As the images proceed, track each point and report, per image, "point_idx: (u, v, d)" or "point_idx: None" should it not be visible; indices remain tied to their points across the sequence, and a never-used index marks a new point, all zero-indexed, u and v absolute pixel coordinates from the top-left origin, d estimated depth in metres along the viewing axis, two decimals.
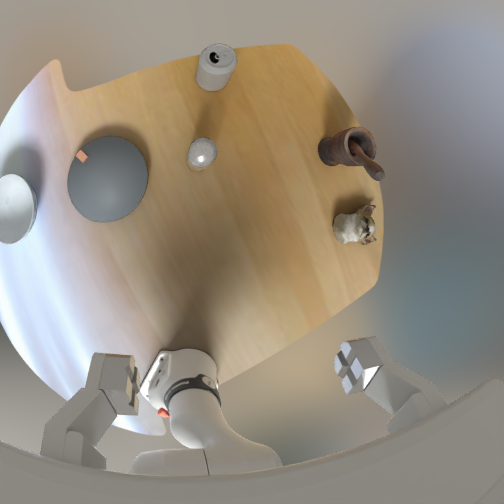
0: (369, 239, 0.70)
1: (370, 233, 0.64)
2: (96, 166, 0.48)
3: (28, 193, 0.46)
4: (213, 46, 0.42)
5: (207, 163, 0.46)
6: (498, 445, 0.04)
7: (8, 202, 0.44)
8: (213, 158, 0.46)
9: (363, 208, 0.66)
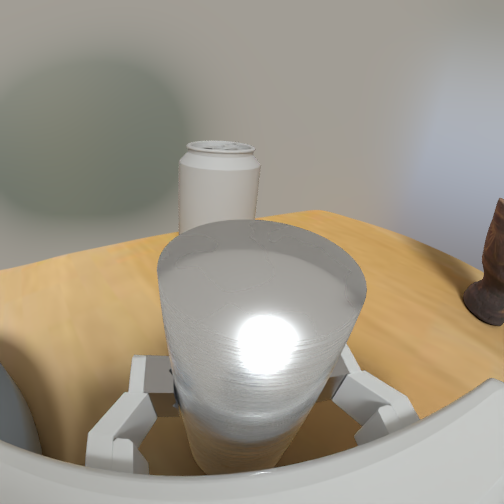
0: None
1: None
2: None
3: None
4: (204, 143, 0.25)
5: (336, 318, 0.05)
6: (498, 445, 0.04)
7: None
8: (354, 284, 0.06)
9: None
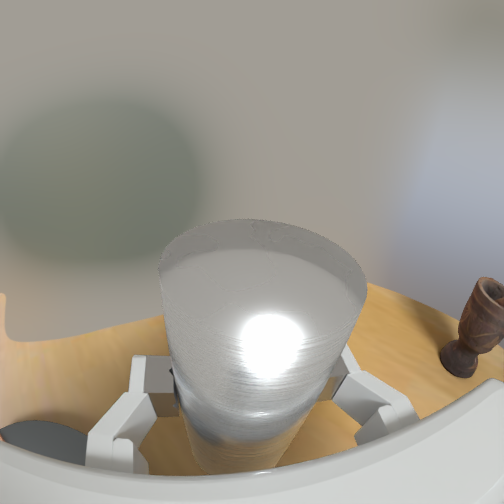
0: None
1: None
2: None
3: None
4: None
5: (337, 317, 0.05)
6: (498, 445, 0.04)
7: None
8: (355, 284, 0.06)
9: None
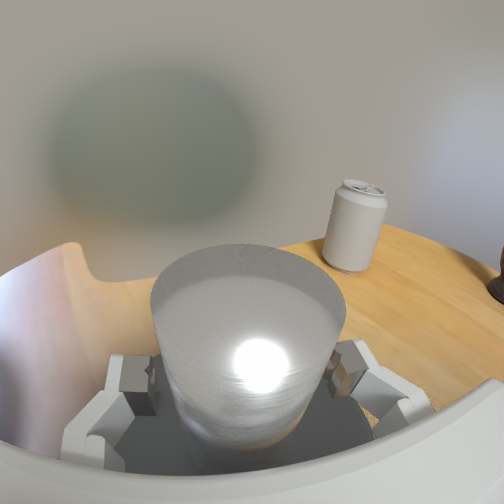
0: None
1: None
2: None
3: None
4: (347, 181, 0.36)
5: (312, 347, 0.06)
6: (498, 445, 0.04)
7: None
8: (334, 312, 0.07)
9: None
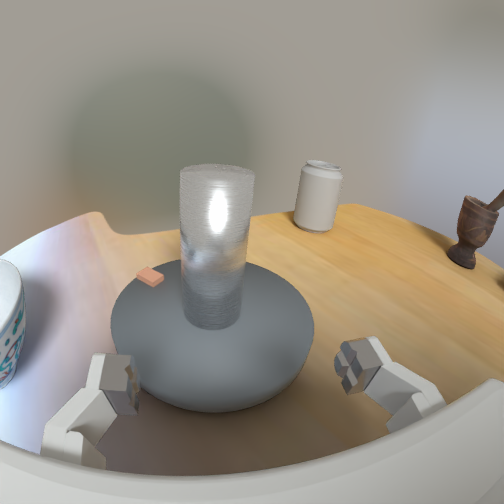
0: None
1: None
2: None
3: None
4: (311, 161, 0.47)
5: (236, 180, 0.16)
6: (498, 445, 0.04)
7: None
8: (248, 176, 0.17)
9: None
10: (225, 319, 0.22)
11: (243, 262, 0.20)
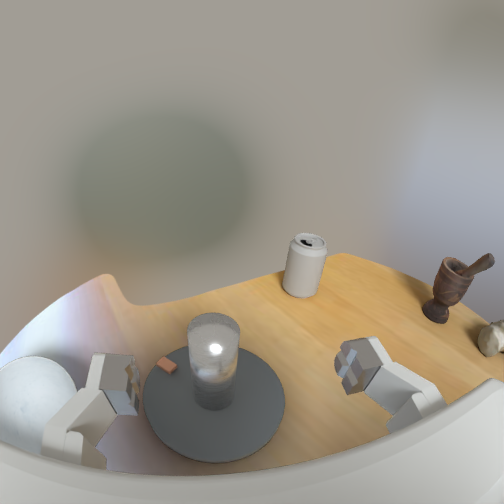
0: None
1: None
2: None
3: None
4: (299, 235, 0.54)
5: (226, 346, 0.24)
6: (498, 445, 0.04)
7: (26, 411, 0.22)
8: (235, 337, 0.25)
9: (493, 323, 0.45)
10: (222, 405, 0.29)
11: (233, 377, 0.28)
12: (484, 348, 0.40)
